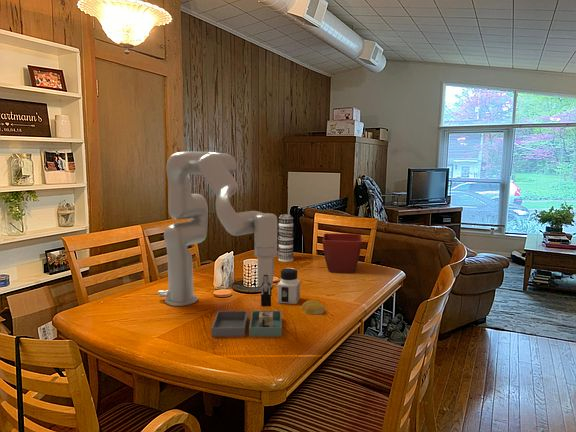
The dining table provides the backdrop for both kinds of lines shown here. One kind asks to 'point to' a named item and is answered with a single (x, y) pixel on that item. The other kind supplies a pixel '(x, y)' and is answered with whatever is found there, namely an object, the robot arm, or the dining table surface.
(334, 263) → the plant pot
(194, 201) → the robot arm
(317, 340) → the dining table surface
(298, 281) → the container
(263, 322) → the letter cube
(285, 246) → the decorative candle
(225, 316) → the charcoal bin
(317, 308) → the bread roll
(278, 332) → the green-grey bin
